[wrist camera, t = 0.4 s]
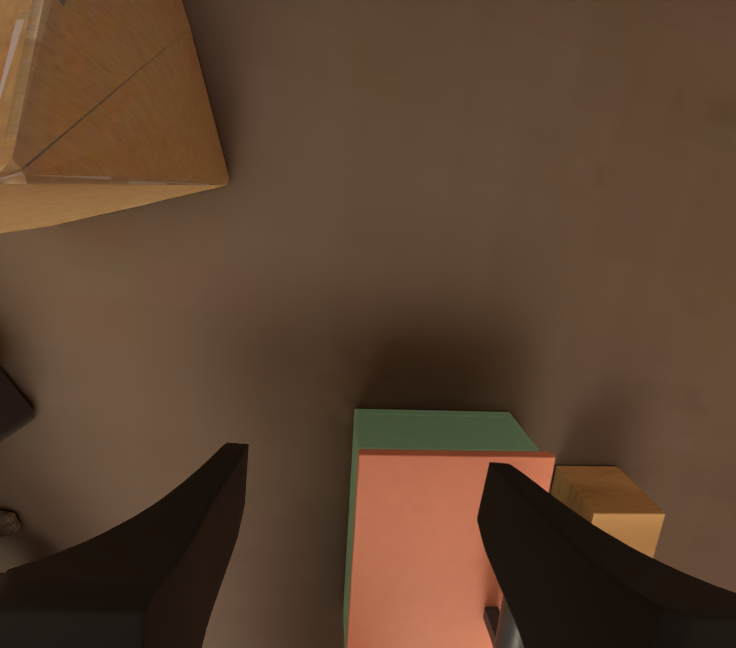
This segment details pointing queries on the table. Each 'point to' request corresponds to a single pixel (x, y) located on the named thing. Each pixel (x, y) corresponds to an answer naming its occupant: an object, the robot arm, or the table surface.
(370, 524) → the lid
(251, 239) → the table surface
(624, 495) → the block
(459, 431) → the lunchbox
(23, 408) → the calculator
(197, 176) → the sandwich container
